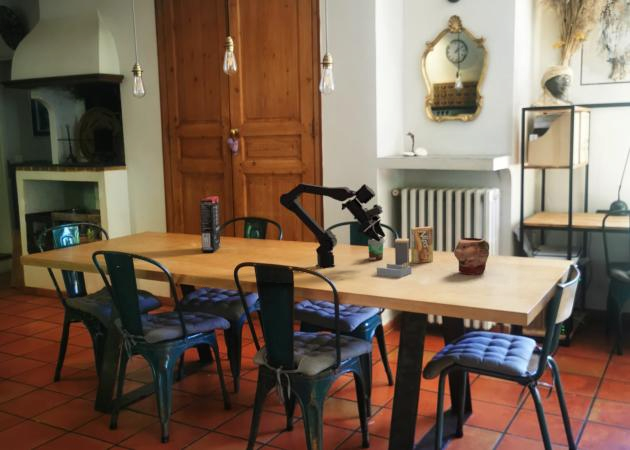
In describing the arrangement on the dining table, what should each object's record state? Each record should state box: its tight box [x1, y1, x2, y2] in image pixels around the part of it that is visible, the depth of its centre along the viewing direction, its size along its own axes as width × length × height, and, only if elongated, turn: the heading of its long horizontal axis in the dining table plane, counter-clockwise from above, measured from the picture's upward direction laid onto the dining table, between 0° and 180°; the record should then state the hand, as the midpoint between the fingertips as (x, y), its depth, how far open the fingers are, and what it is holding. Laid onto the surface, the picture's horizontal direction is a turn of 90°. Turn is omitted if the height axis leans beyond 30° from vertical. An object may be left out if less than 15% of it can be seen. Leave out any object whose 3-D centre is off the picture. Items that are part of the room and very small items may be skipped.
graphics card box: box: [199, 195, 221, 253], centre depth 339 cm, size 17×7×27 cm, turn 178°
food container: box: [367, 235, 386, 262], centre depth 301 cm, size 12×6×10 cm, turn 161°
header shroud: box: [376, 262, 413, 279], centre depth 270 cm, size 11×9×5 cm
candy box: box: [410, 226, 434, 264], centre depth 292 cm, size 9×4×15 cm, turn 104°
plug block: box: [394, 238, 410, 266], centre depth 280 cm, size 5×5×12 cm
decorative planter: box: [453, 237, 490, 276], centre depth 268 cm, size 20×12×14 cm, turn 134°
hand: (382, 238), depth 281 cm, fingers open, 9 cm apart
